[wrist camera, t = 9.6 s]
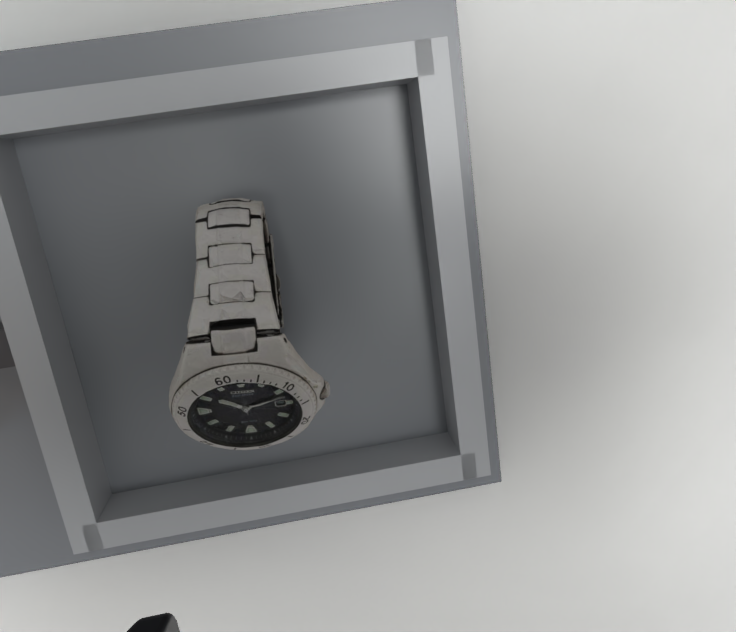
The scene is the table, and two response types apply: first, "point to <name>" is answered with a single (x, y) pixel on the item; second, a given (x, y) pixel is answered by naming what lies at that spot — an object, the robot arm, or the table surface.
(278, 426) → the wristwatch
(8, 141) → the grey tray
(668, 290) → the table surface
